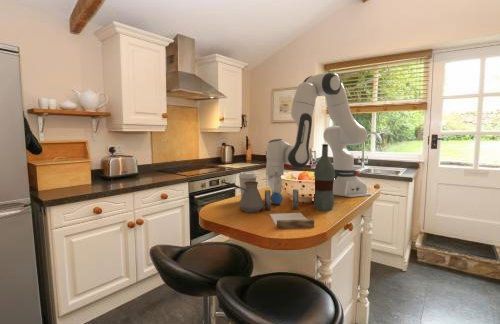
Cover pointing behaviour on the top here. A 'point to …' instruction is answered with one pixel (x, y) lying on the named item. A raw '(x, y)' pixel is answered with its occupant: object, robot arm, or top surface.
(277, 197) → the ball
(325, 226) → the top surface
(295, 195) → the right post
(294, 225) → the wall
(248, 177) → the coffee cup
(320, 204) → the bottle
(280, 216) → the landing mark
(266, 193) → the left post
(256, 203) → the coffee pot
